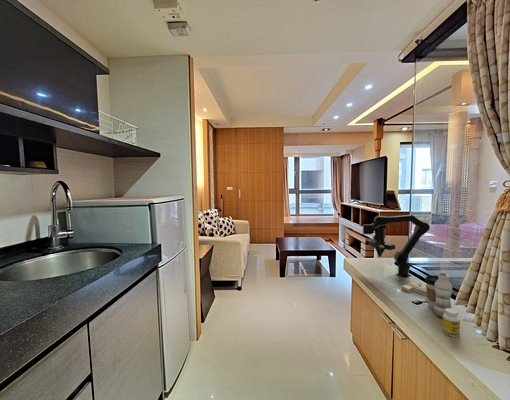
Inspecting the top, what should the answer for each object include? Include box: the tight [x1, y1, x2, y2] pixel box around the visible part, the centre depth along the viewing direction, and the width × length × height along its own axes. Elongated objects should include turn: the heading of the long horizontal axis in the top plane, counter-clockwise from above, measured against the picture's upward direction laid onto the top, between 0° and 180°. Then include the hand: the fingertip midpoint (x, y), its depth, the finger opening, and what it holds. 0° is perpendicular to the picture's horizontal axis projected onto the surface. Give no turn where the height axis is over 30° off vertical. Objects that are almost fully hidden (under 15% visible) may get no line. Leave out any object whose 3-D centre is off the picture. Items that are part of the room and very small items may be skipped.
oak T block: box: [401, 281, 427, 296], centre depth 132 cm, size 12×12×2 cm
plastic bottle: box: [433, 272, 453, 319], centre depth 107 cm, size 6×7×20 cm
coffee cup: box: [424, 275, 439, 310], centre depth 115 cm, size 8×8×15 cm
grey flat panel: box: [376, 275, 428, 302], centre depth 138 cm, size 14×30×1 cm, turn 26°
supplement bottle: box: [442, 308, 461, 338], centre depth 96 cm, size 5×5×10 cm
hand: (379, 256), depth 158 cm, fingers closed
